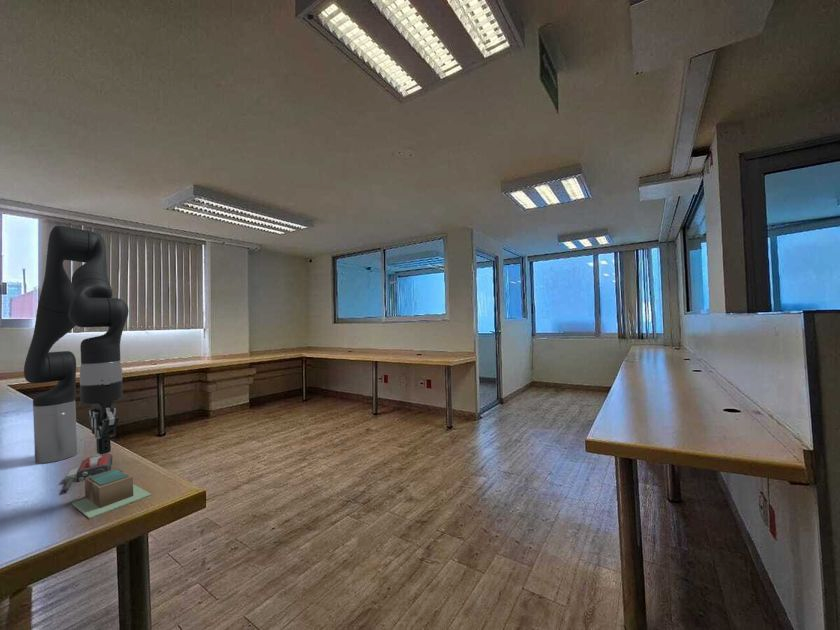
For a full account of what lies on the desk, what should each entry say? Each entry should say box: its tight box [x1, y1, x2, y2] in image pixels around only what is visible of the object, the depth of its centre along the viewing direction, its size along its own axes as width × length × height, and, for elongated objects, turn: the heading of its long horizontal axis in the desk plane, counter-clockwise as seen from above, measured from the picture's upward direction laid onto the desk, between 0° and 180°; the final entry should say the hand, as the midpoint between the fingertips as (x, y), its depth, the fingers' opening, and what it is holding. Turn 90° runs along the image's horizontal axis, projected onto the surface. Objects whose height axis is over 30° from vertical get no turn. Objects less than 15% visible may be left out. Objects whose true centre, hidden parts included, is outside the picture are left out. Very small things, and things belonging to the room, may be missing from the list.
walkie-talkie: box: [62, 453, 113, 492], centre depth 96 cm, size 9×4×20 cm
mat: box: [71, 483, 152, 519], centre depth 82 cm, size 12×11×1 cm
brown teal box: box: [84, 468, 134, 508], centre depth 83 cm, size 5×6×10 cm
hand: (103, 452), depth 84 cm, fingers closed
